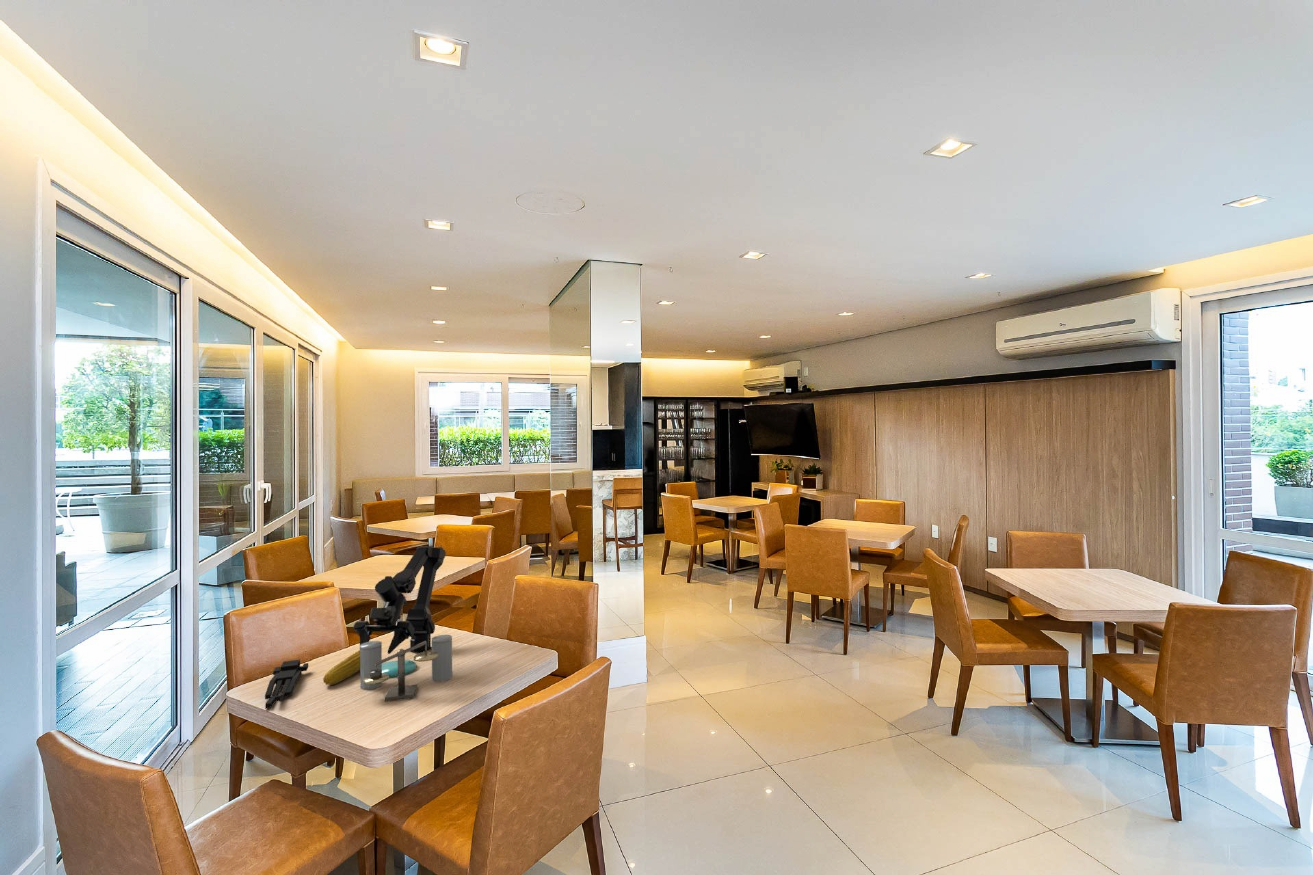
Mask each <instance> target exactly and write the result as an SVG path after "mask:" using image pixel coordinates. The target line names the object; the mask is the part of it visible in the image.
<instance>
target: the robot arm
mask: <svg viewBox="0 0 1313 875" xmlns="http://www.w3.org/2000/svg"><path fill="white" fill-rule="evenodd" d="M445 558H446V550H445V549H444V548H443V547H442V546H425V545H424V546H423V545H422V546H418V547H416V548H415V552H414V553H413V555H412V556H411V558H410V560H409V561H408V563H407V564H406V565H405V567H404V568H403V570H401V571H400V572H396V574H395V575H394V576H391V575H388V576H387V575H385V577H384V578H383V579H381V580H379V581H378V582H377V583H376V584H375V586H374V591H375V592H376V594H377V595H378V596H379V597H380V599H381V601H383V602H385V603H384V605H383V607H371V610H370V613H369V619H373V623H374V624H373V625H371V623H370V622H369V620H358V621H355V623H354V624H353V626H352V629H353V631H354V632H355V634H357V636H358V637H359V646H360V645H361V644H363V643H366V642H370V641H371V639H372V637H371V636H372V634H373V632H378V633H379V632H382V633H383V632H385V633H386V632H388V633H389V632H391V633H392V632H393V637H392V638H391V641H390V643H389V644H390V645H389V646H388V650H387V654H388V655H390V654H391V653H393V651H395V649H396V648H398V646H400V645H401V644H402V643H403V642H404V641H405V640H409V648H410V647H412V646H415V645H417V644H419V643H422V642H424V641H426V642H427V652H429V651H430V650H432V638H431V637H432V636H431V635H433V634H434V633H435V630H436V625H435V623H434V622H433V620H432V614H431V610H430V602H431V598H432V594H433V589H434V585H435V579H436V575H437V572H438V571H437V570H439V568H441V567H442V565H443V564H444V559H445ZM421 570H422V575H421V580H420V582H419V587H418V593H417V595H416V600H415V605H414V606H413V607H412V608H409V609H408V611H407V615H406V618H405V620H401V617H402V616H401V612H402V609H403V607H404V605H407V604H408V601H407V599H406V596H405V595H404V594H411V593H412V592H413V590H414V589H415V587H416V584H417V582H416V578H417V576H418V574H419V573H420V571H421ZM398 620H399V621H398ZM375 624H376V625H375ZM409 638H410V639H409ZM410 652H411V653H416V654H419V653H423V652H425V645H423V646H421V647H418V648H416V649H414V650H412V651H410Z"/></svg>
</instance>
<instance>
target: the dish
mask: <svg viewBox="0 0 1313 875" xmlns="http://www.w3.org/2000/svg"><path fill="white" fill-rule="evenodd" d="M416 669H417V666H416V661H415V660H410V659H405V675H408V674H410V673H412V672H414V671H415V670H416ZM382 673H384V674H388V675H389V679H390V678H391V679H392V678H398V659H397V660H392V661H391V660H390V661H386V662H384V663H382Z"/></svg>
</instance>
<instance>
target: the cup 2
mask: <svg viewBox="0 0 1313 875" xmlns="http://www.w3.org/2000/svg"><path fill="white" fill-rule="evenodd" d="M431 647H432V649H431V652H437V653H438V657H437V658H436V659H433V660H431V680H432V681H433V682H437V683H438V682H446V681H448V680H449V681H450V680H451V679H452V678H453V636H452V635H450V634H441V635H440V634H439V635H435V636H434V637H432V638H431Z"/></svg>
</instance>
